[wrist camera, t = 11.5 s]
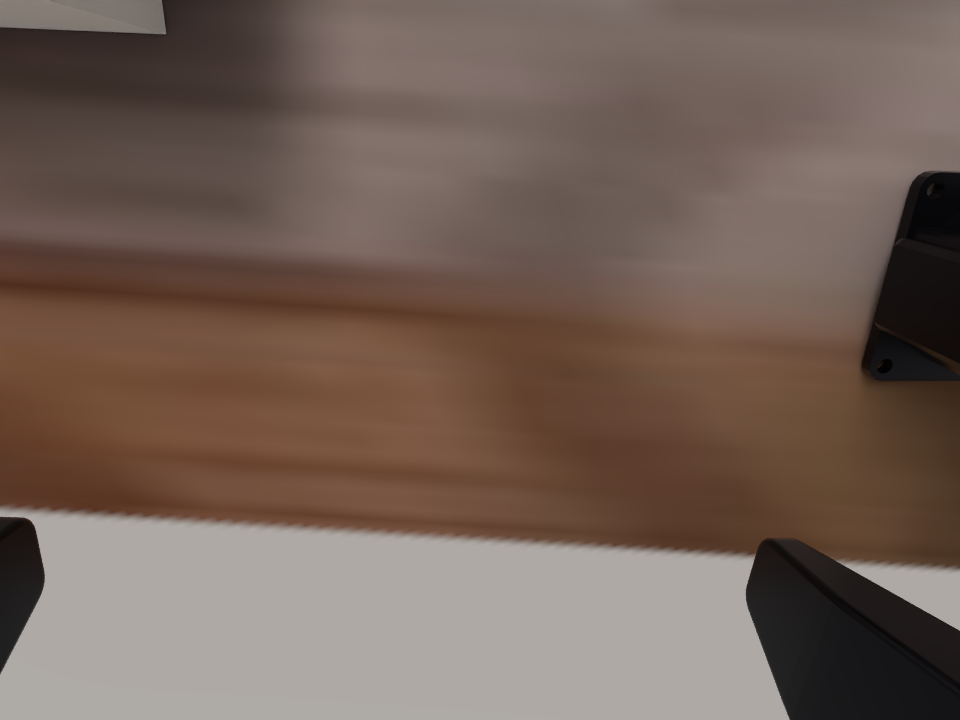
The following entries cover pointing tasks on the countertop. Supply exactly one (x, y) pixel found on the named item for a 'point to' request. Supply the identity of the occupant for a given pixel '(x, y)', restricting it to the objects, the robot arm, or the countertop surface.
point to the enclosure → (85, 15)
